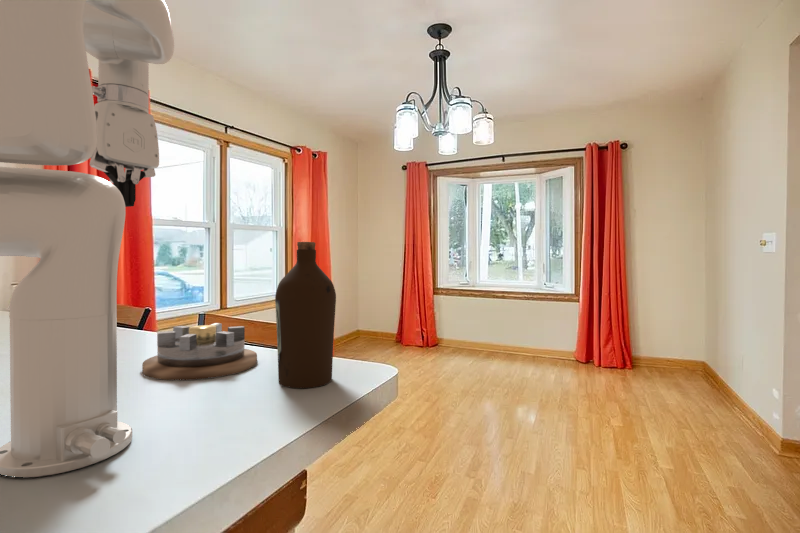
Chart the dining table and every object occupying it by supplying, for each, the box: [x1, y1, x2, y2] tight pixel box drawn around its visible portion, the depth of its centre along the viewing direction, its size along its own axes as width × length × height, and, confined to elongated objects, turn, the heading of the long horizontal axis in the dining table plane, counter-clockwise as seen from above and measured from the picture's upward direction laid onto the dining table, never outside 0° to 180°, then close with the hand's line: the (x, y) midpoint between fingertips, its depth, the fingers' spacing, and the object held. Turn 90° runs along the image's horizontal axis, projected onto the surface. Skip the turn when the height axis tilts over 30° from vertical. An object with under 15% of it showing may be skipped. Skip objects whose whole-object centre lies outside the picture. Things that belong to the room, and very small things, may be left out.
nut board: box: [141, 348, 258, 381], centre depth 87 cm, size 21×21×2 cm
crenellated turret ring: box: [156, 322, 246, 367], centre depth 87 cm, size 16×16×6 cm
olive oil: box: [274, 241, 337, 389], centre depth 77 cm, size 11×11×25 cm
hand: (124, 205), depth 77 cm, fingers closed
